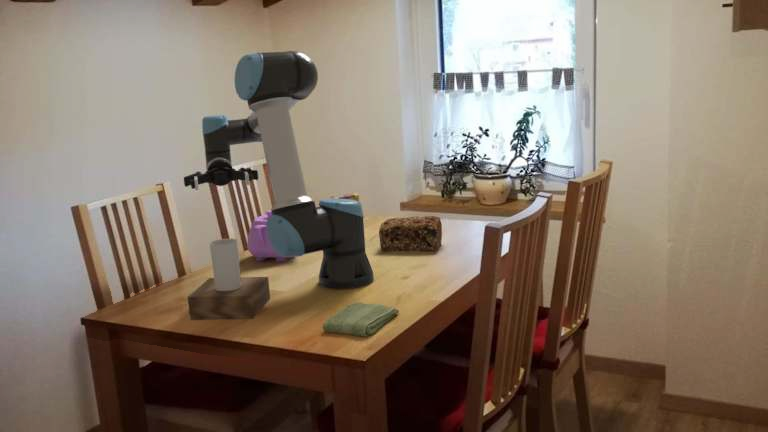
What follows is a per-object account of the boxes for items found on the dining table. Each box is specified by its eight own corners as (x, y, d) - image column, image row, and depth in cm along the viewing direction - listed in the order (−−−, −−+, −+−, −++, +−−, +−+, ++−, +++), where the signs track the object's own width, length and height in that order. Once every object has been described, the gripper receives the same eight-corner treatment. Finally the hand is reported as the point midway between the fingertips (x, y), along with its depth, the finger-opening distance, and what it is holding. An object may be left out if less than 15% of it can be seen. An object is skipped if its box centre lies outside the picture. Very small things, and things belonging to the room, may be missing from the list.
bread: (443, 243, 258) (441, 213, 256) (437, 252, 248) (436, 221, 246) (386, 243, 262) (385, 213, 260) (379, 252, 252) (377, 221, 250)
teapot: (294, 268, 239) (290, 219, 236) (235, 266, 246) (230, 218, 243) (320, 251, 257) (317, 205, 254) (264, 249, 264) (260, 205, 261)
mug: (233, 292, 198) (228, 245, 196) (209, 291, 200) (204, 244, 198) (252, 280, 207) (248, 235, 205) (229, 280, 210) (224, 235, 207)
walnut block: (270, 298, 212) (268, 276, 210) (252, 319, 196) (250, 295, 195) (211, 299, 214) (209, 277, 213) (190, 320, 198) (187, 297, 197)
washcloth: (401, 314, 194) (400, 302, 194) (369, 340, 179) (368, 326, 178) (353, 310, 200) (352, 297, 199) (318, 334, 184) (317, 321, 184)
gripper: (263, 180, 239) (270, 191, 219) (178, 188, 234) (176, 200, 214) (261, 155, 238) (267, 164, 218) (175, 162, 233) (172, 173, 212)
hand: (222, 182), depth 216 cm, fingers open, 13 cm apart
